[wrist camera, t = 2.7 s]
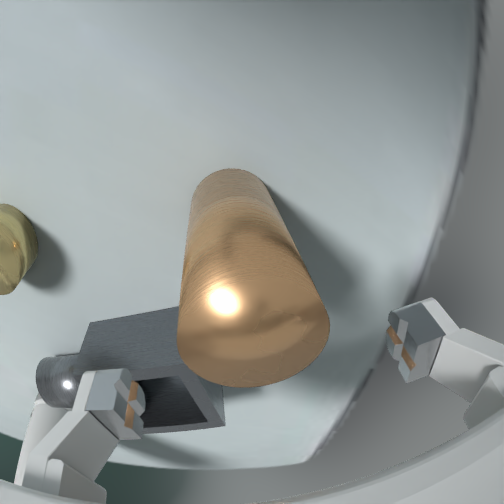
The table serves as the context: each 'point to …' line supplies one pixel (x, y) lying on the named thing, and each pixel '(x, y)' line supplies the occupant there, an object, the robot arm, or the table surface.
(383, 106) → the table surface
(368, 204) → the table surface
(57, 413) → the travel mug
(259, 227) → the copper brown cylinder
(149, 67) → the table surface
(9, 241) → the brass round knob
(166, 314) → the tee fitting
